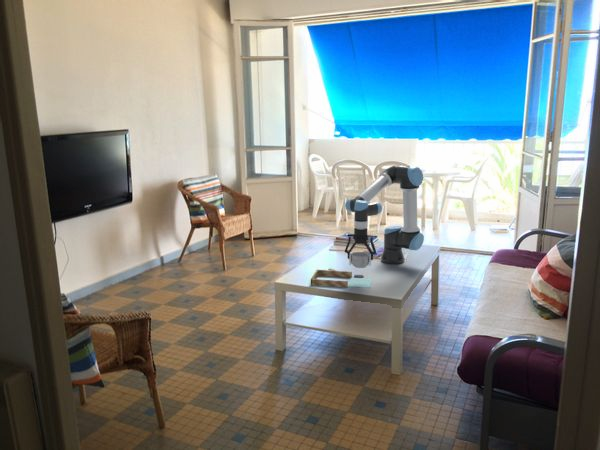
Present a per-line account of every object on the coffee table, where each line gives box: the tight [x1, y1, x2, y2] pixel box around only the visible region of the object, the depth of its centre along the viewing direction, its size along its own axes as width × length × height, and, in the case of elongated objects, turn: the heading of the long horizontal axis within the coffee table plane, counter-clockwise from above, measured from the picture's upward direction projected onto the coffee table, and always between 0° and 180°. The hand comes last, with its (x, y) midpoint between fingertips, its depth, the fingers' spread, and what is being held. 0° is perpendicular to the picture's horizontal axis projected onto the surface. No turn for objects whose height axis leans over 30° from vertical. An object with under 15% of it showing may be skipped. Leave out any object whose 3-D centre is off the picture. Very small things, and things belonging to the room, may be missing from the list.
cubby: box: [310, 269, 353, 288], centre depth 311 cm, size 22×19×4 cm
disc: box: [353, 274, 365, 278], centre depth 319 cm, size 6×6×1 cm
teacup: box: [350, 251, 370, 269], centre depth 305 cm, size 14×11×8 cm
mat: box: [347, 277, 373, 289], centre depth 308 cm, size 13×16×1 cm
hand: (360, 264), depth 305 cm, fingers closed on teacup, 11 cm apart
